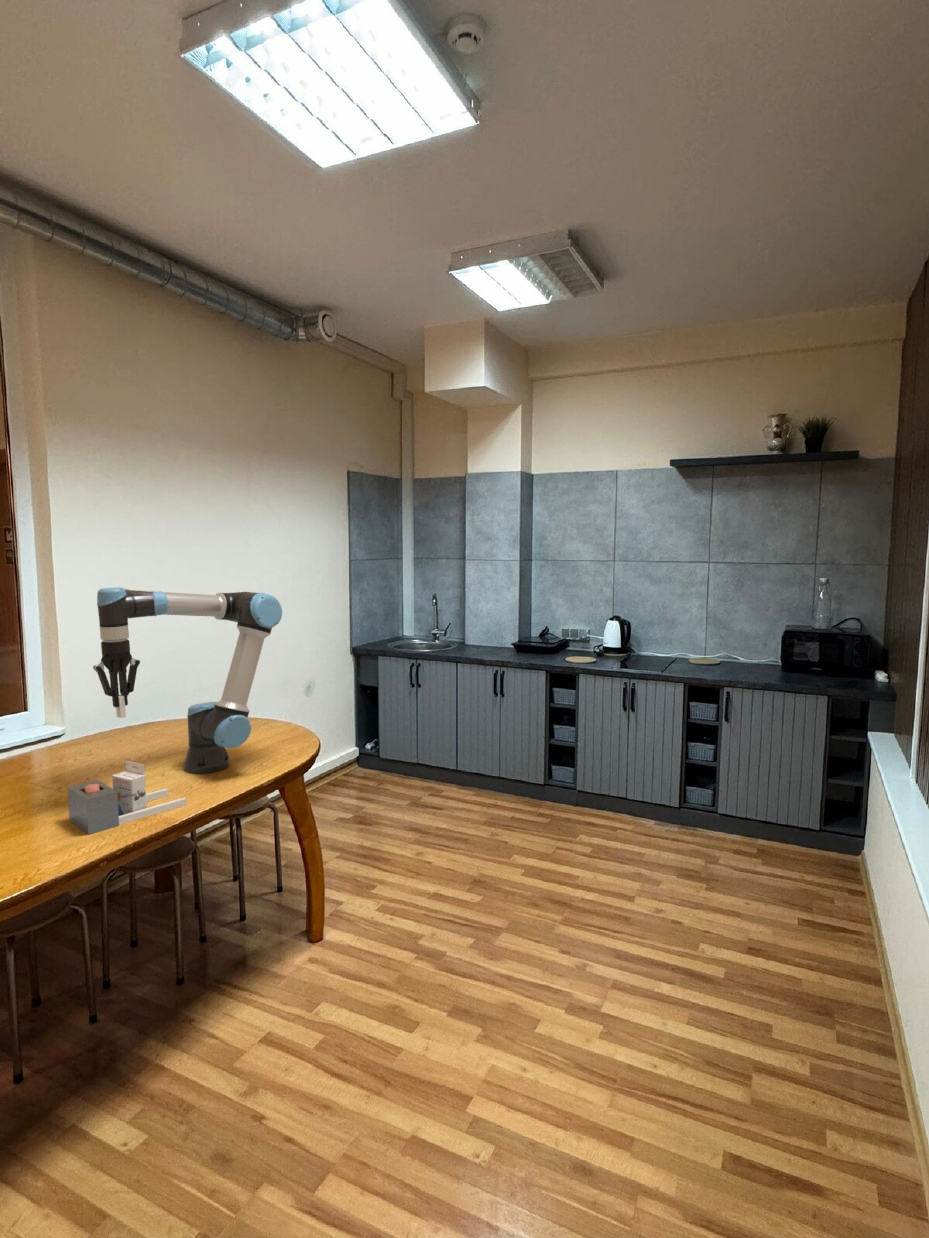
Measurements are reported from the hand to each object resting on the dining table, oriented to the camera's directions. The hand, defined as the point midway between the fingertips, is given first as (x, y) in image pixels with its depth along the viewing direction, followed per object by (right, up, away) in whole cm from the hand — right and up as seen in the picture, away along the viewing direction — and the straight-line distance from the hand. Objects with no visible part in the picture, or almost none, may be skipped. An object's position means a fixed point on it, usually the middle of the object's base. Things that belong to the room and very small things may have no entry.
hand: (121, 716), depth 201 cm
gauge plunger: (-2, -23, -12) cm, 26 cm away
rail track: (+7, -28, -1) cm, 28 cm away
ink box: (+5, -28, -4) cm, 29 cm away
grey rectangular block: (-2, -29, -12) cm, 31 cm away
